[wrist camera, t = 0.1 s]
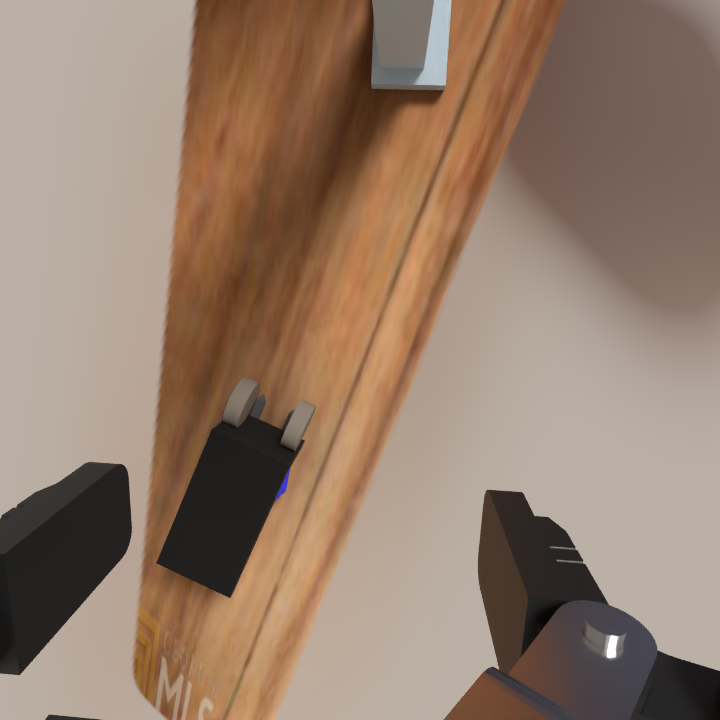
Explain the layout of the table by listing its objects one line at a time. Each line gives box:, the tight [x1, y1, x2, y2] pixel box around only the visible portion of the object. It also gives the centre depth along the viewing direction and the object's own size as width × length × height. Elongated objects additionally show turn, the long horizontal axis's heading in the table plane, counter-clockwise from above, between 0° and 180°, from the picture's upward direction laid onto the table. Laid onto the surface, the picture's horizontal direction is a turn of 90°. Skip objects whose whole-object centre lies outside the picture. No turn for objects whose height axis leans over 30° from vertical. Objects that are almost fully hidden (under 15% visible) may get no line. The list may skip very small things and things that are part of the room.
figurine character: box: [157, 377, 316, 598], centre depth 40 cm, size 7×8×15 cm
